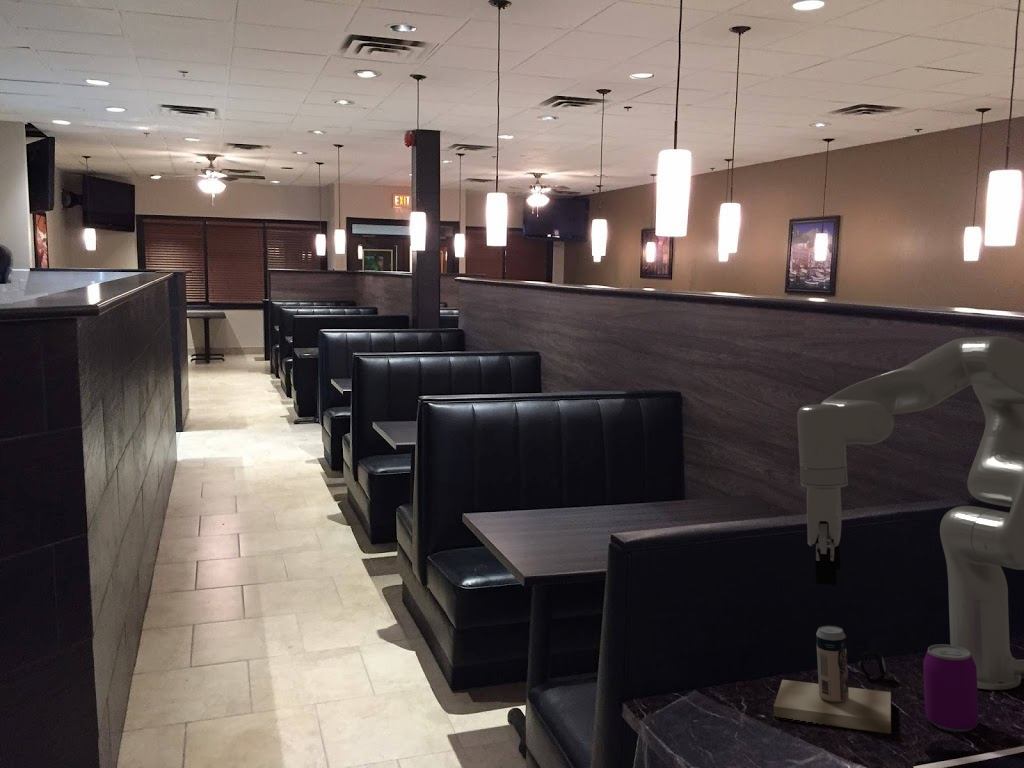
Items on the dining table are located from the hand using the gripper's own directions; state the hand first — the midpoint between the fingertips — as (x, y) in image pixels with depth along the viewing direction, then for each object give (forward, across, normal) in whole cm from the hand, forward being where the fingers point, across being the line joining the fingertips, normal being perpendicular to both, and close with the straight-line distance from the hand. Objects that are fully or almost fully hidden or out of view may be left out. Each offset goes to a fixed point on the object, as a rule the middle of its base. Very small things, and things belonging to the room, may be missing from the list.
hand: (828, 575), depth 138 cm
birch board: (+23, 0, 0) cm, 23 cm away
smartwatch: (+24, -17, +6) cm, 30 cm away
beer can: (+22, 0, 0) cm, 22 cm away
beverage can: (+24, -1, +18) cm, 30 cm away
